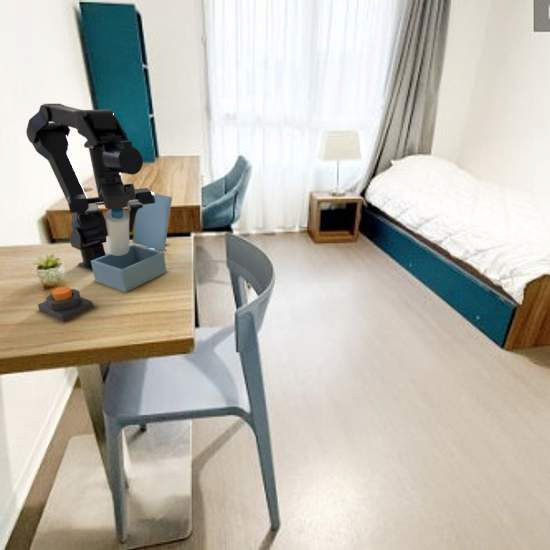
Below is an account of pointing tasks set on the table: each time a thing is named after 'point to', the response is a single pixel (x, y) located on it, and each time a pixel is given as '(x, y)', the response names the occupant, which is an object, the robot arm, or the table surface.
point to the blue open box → (129, 268)
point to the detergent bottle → (117, 231)
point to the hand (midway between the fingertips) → (118, 233)
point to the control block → (65, 306)
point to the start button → (62, 293)
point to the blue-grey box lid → (153, 223)
